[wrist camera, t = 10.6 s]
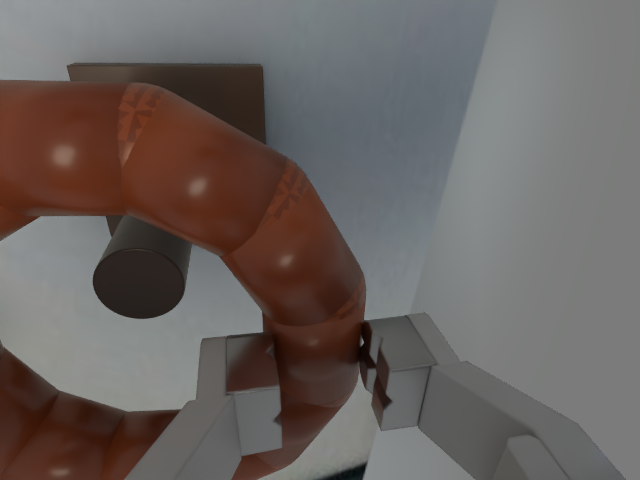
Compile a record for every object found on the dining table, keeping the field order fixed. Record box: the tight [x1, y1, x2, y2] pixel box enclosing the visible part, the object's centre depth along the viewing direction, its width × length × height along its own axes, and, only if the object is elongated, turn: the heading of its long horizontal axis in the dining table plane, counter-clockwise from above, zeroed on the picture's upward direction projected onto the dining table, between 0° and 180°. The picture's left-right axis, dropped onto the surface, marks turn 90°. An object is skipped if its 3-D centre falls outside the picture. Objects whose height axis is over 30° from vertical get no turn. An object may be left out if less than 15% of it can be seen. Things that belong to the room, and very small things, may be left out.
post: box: [67, 63, 266, 319], centre depth 17 cm, size 9×9×13 cm
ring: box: [0, 80, 366, 480], centre depth 9 cm, size 11×11×2 cm
